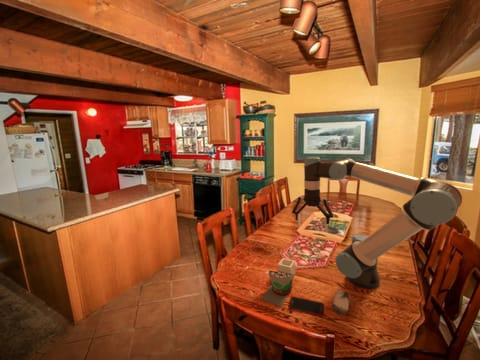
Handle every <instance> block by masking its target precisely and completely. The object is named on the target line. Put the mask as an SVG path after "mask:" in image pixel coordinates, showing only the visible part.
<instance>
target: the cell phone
mask: <svg viewBox="0 0 480 360" xmlns="http://www.w3.org/2000/svg"><path fill="white" fill-rule="evenodd" d="M288 309H289V310H292V311H295V312H296V311H297V312H300V313H304V314H308V315H312V316H313V315H314V316H318V317H322V318H323V317H324V315H325V304H324V302H320V301H315V300H311V299H306V298H301V297H296V296H291V297H290V300H289V305H288Z"/></svg>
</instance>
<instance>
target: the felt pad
mask: <svg viewBox="0 0 480 360" xmlns="http://www.w3.org/2000/svg"><path fill="white" fill-rule="evenodd" d="M293 288H294V287H293V285H292V289H291V291H292V290H293ZM289 295H290V294H288V295H285V296H280V295H277V294H275V293H274V292H273V291H272V285H271V284H270V286H269V287H268V288H267V290H265V293H263V295H262V296H261V297H260V300H261V301H264V302H266V303H268V304H272V305H274V306H277V307H279V308H282V306H283V304H284V303H285V302H286V300H287V298H288V296H289Z"/></svg>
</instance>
